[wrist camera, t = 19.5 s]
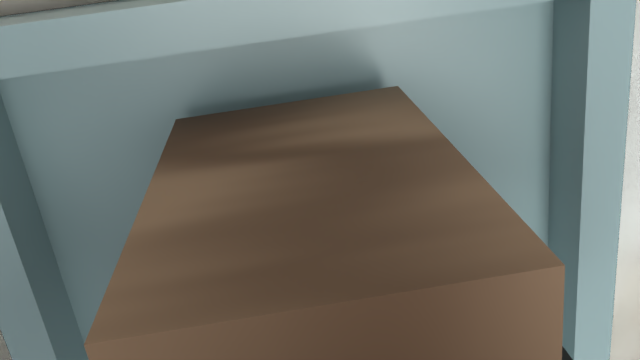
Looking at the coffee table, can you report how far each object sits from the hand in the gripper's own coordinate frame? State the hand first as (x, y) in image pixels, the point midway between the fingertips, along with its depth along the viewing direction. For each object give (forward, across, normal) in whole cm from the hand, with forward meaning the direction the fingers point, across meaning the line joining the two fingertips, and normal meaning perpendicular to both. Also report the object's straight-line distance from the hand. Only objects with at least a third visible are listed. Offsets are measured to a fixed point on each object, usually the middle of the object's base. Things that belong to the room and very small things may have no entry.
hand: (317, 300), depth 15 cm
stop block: (0, 0, +2) cm, 2 cm away
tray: (+2, 0, 0) cm, 2 cm away
